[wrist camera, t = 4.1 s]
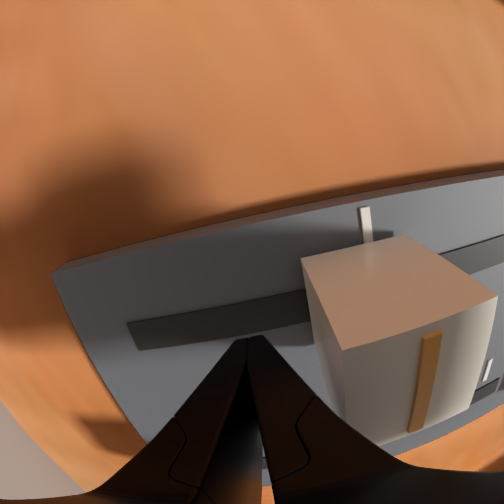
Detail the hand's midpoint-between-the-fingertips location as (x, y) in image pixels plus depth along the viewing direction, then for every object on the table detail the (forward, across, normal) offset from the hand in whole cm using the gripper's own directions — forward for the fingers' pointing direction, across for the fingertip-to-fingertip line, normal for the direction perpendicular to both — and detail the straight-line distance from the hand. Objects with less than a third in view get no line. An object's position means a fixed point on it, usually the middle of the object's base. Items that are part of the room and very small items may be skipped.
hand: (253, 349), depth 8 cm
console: (+3, -4, +4) cm, 7 cm away
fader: (+2, -4, 0) cm, 4 cm away
